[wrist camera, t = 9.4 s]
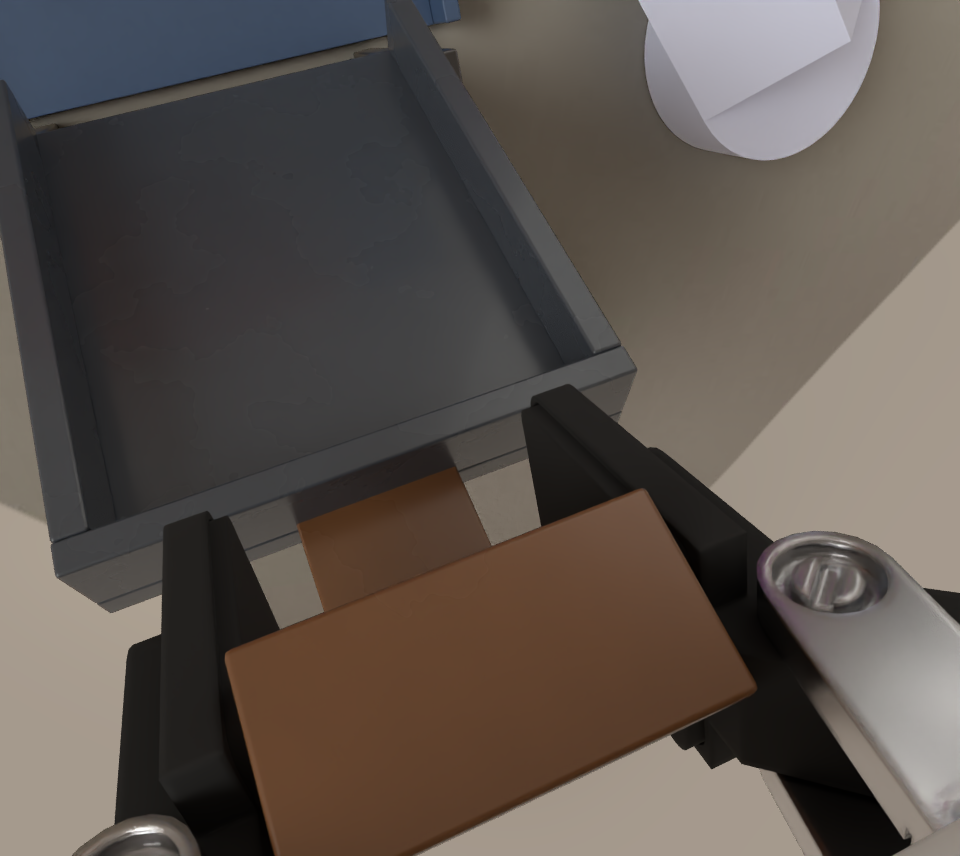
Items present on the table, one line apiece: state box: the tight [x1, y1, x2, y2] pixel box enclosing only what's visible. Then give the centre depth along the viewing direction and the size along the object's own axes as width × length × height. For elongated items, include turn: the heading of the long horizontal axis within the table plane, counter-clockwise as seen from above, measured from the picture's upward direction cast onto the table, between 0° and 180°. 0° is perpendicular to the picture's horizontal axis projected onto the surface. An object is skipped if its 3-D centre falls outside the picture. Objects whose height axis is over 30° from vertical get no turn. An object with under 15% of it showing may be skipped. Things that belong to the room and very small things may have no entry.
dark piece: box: [0, 0, 758, 856], centre depth 13 cm, size 18×10×7 cm
